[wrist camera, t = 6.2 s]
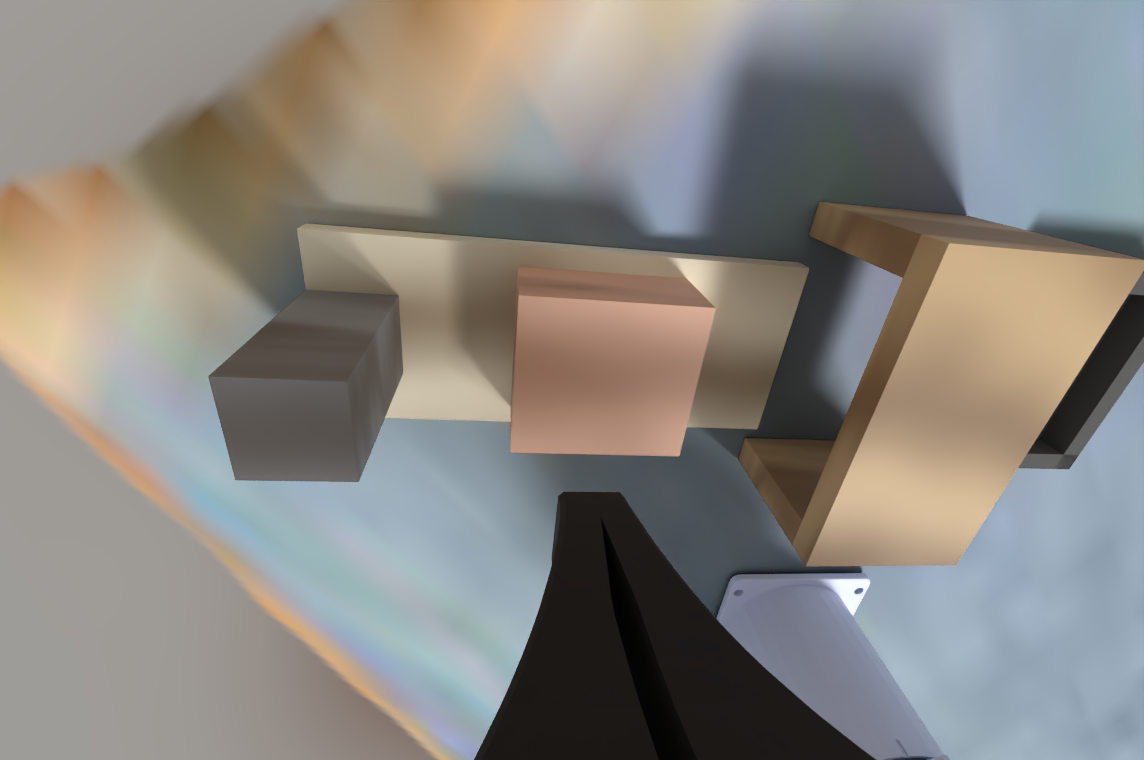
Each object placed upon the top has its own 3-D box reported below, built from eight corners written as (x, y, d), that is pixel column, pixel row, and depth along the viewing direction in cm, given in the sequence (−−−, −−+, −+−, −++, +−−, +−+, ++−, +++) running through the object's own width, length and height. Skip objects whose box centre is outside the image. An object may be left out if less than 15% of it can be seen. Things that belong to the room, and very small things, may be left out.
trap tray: (1034, 446, 25) (1068, 468, 23) (943, 443, 24) (972, 467, 23) (1149, 265, 21) (1202, 278, 19) (1043, 256, 20) (1088, 268, 18)
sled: (749, 419, 22) (838, 537, 16) (330, 405, 20) (250, 537, 14) (798, 262, 19) (932, 337, 13) (305, 223, 17) (185, 292, 11)
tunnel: (857, 462, 24) (956, 565, 19) (738, 459, 23) (805, 566, 18) (968, 215, 19) (1150, 260, 14) (819, 201, 18) (949, 243, 13)
